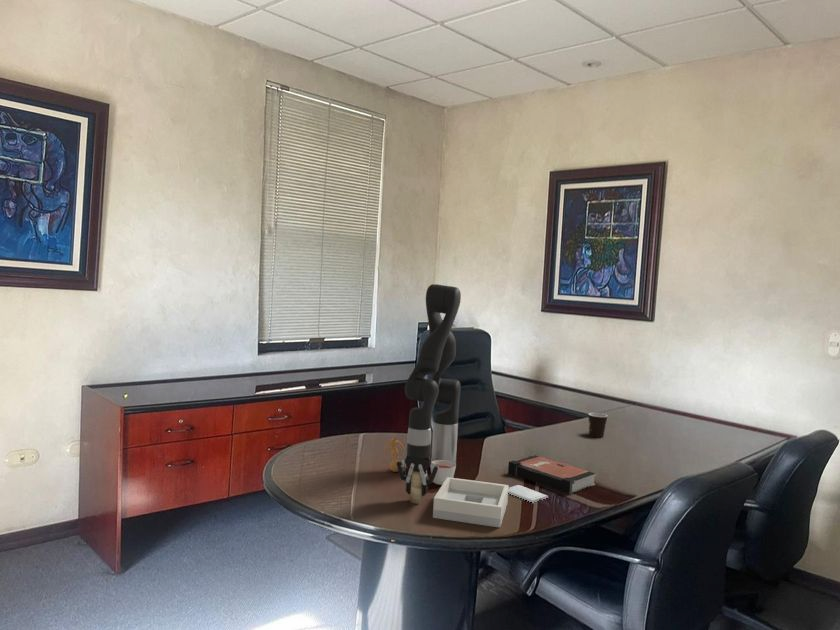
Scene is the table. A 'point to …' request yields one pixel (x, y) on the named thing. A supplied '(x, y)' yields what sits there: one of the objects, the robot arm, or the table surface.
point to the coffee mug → (597, 424)
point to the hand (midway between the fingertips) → (416, 494)
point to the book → (552, 474)
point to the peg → (416, 488)
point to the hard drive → (526, 493)
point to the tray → (471, 502)
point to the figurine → (393, 443)
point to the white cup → (443, 471)
